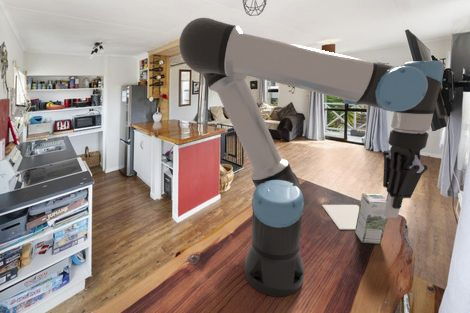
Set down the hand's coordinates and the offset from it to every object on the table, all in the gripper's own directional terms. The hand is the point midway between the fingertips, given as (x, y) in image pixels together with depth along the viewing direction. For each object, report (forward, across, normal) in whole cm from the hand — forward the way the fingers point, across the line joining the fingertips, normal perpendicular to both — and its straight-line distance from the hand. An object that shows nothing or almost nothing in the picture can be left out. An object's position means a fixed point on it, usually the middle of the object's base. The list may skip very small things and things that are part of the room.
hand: (390, 216), depth 63 cm
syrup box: (+13, +8, 0) cm, 15 cm away
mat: (+12, +20, 0) cm, 24 cm away
